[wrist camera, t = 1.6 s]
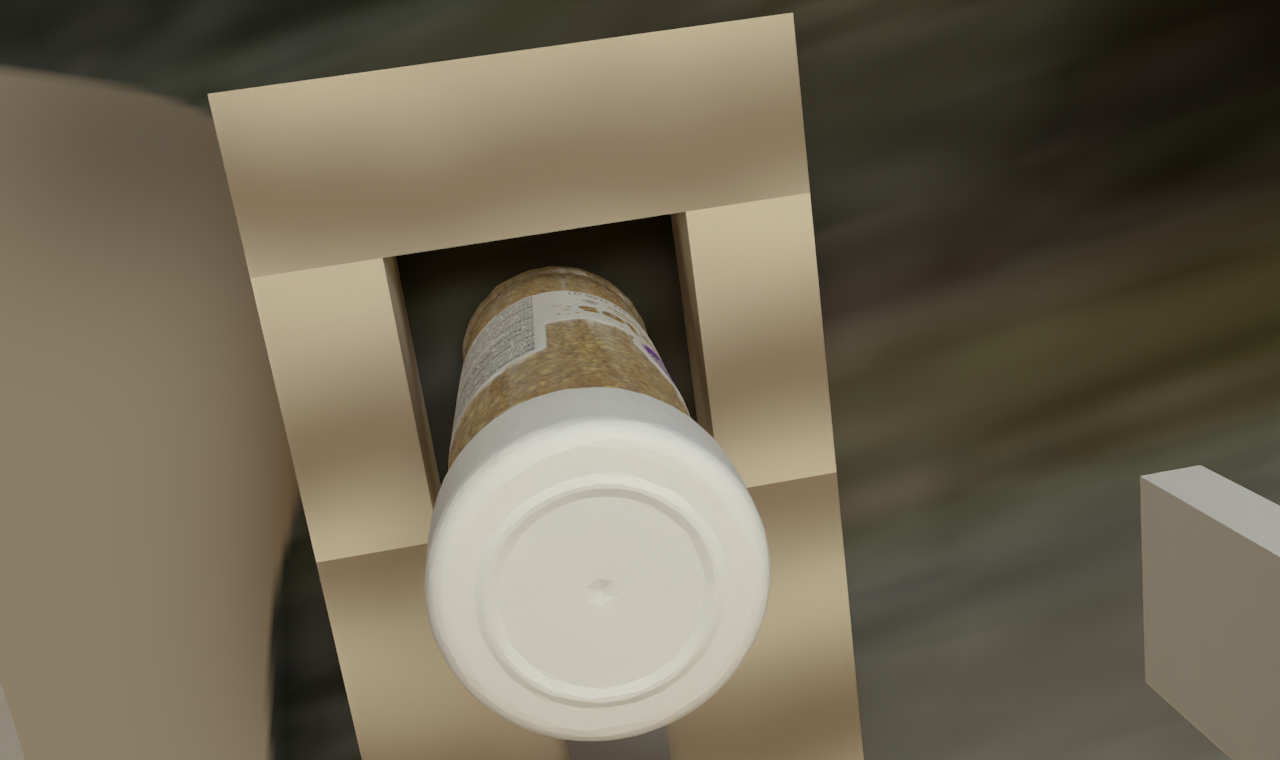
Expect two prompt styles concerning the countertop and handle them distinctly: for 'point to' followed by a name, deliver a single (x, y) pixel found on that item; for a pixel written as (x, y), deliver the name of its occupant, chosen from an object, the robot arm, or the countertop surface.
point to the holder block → (528, 205)
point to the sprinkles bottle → (586, 522)
